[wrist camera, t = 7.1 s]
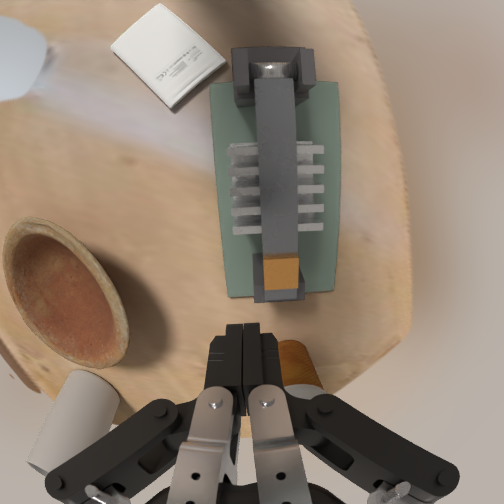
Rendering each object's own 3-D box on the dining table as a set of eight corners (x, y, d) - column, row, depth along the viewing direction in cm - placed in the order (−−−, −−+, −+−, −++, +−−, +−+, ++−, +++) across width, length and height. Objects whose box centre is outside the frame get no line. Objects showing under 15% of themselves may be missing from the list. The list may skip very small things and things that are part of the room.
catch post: (252, 250, 34) (253, 285, 26) (292, 248, 34) (305, 282, 26) (253, 265, 35) (254, 303, 27) (292, 263, 35) (304, 299, 27)
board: (210, 85, 26) (209, 84, 25) (335, 83, 26) (337, 82, 25) (228, 293, 36) (227, 297, 36) (332, 287, 36) (333, 290, 35)
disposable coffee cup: (245, 361, 42) (244, 423, 31) (280, 322, 38) (290, 387, 27) (291, 379, 44) (300, 437, 33) (328, 345, 41) (347, 405, 30)
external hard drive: (163, 7, 21) (227, 63, 25) (114, 50, 23) (172, 109, 27) (159, 2, 20) (226, 59, 24) (108, 47, 22) (168, 108, 26)
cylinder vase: (86, 361, 43) (37, 464, 20) (131, 399, 47) (101, 500, 24) (62, 374, 46) (20, 459, 23) (102, 408, 50) (72, 492, 27)
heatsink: (232, 143, 29) (226, 145, 21) (304, 140, 28) (323, 142, 21) (236, 212, 32) (233, 237, 24) (305, 208, 32) (323, 232, 24)
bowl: (30, 181, 29) (-6, 195, 22) (166, 239, 33) (145, 269, 26) (28, 302, 38) (5, 327, 30) (134, 358, 42) (120, 392, 34)
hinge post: (235, 67, 25) (227, 32, 15) (293, 65, 25) (315, 32, 15) (237, 108, 27) (231, 92, 17) (295, 106, 27) (320, 91, 17)
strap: (248, 65, 18) (249, 60, 17) (293, 65, 18) (297, 59, 17) (261, 293, 27) (261, 304, 25) (297, 291, 27) (300, 301, 25)
